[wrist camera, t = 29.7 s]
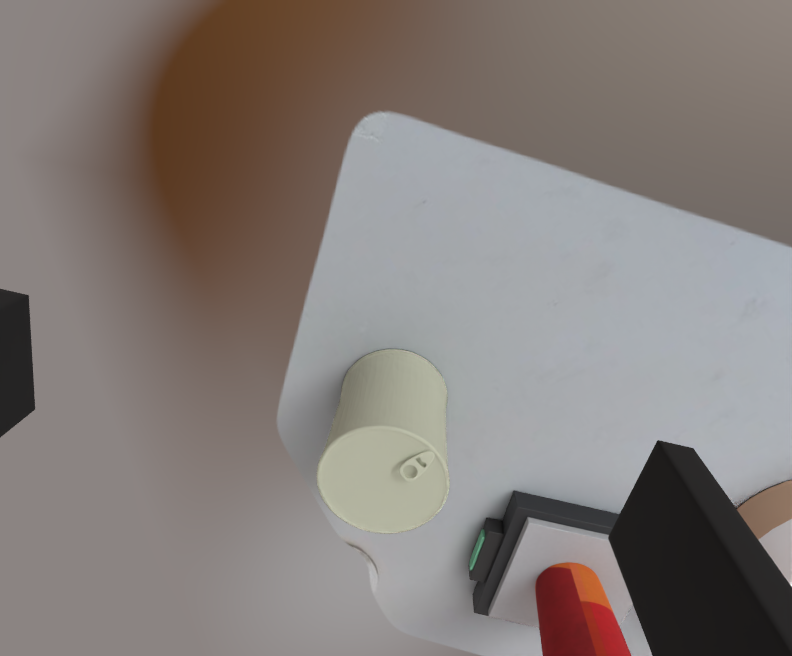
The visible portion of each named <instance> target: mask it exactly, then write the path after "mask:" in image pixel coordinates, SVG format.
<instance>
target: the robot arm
mask: <svg viewBox="0 0 792 656" xmlns="http://www.w3.org/2000/svg"><path fill="white" fill-rule="evenodd" d="M34 410H35V399H34V382H33V364H32V347H31V330H30V314H29V296H28V295H25V294H20V293H16V292H11V291H7V290H3V289H0V437H1V436H2V435H4V434H5V433H6V432H7V431H9V430H10V429H11V428H12V427H14V426H15V425H16V424H17V423H19V422H20V421H21V420H22V419H23V418H25V417H26V416H27V415H29V414H30V413H31V412H32V411H34ZM608 540H609V542H610V545H611V547H612V550H613V553H614V555H615V558H616V561H617V563H618V566H619V568H620V571H621V574H622V576H623V579H624V582H625V584H626V587H627V589H628V592H629V595H630V597H631V600H632V602H633V605H634V608H635V610H636V613H637V616H638V618H639V621H640V623H641V626H642V629H643V631H644V634H645V637H646V639H647V642H648V644H649V647H650V650H651V652H652V655H653V656H792V587H791V585H790V584H789V582H788V581H787V580H786V578H785V577H784V575H783V574H782V573H781V571H780V570H779V568H778V567H777V566H776V564H775V563H774V561H773V560H772V558H771V557H770V556H769V554H768V553H767V551H766V550H765V549H764V547H763V546H762V544H761V543H760V542H759V540H758V539H757V537H756V536H755V535H754V533H753V532H752V530H751V529H750V528H749V526H748V525H747V523H746V522H745V521H744V519H743V518H742V516H741V515H740V513H739V512H738V511H737V509H736V508H735V506H734V505H733V504H732V502H731V501H730V499H729V498H728V497H727V495H726V494H725V492H724V491H723V490H722V488H721V487H720V485H719V484H718V483H717V481H716V480H715V478H714V477H713V476H712V474H711V473H710V471H709V470H708V468H707V467H706V466H705V464H704V463H703V461H702V460H701V459H700V457H699V456H698V454H697V453H696V452H695V450H694V449H693V448H690V447H685V446H681V445H677V444H672V443H668V442H663V441H659V440H658V441H657V443H656V445H655V447H654V448H653V450H652V452H651V454H650V456H649V458H648V460H647V462H646V464H645V466H644V468H643V470H642V472H641V474H640V476H639V478H638V480H637V482H636V484H635V486H634V488H633V490H632V491H631V493H630V495H629V497H628V499H627V501H626V503H625V505H624V507H623V509H622V511H621V513H620V515H619V517H618V519H617V521H616V523H615V525H614V527H613V529H612V531H611V532H610V534H609V536H608Z"/></svg>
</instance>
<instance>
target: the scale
mask: <svg viewBox="0 0 792 656" xmlns="http://www.w3.org/2000/svg"><path fill="white" fill-rule="evenodd" d="M619 515H620V514H615V513H611V512H606V511H602V510H598V509H593V508H589V507H584V506H580V505H575V504H571V503H567V502H562V501H558V500H553V499H549V498H544V497H540V496H536V495H531V494H527V493H522V492H518V491H514V492H513V495H512V497H511V500H510V502H509V505H508V507H507V510H506V512H505V515H504V517H503V520H502V521H499V520H495V519H490V518H486V521H485V524H484V526H483V529H482V530H481V533H480V535H479V538H478V540H477V543H476V546H475V548H474V551H473V553H472V556H471V559H470V561H469V577H470V580H474V581H478V583H477V585H476V588H475V590H474V593H473V605H474V613H478V614H482V615H487V616H489V617H492V618H496V619H501V620H505V621H510V622H515V623H519V624H524V625H528V626H533V627H538V628H539V620H538V612H537V603H536V593H535V584H536V580H537V578H538V576H539V575H540V574H541V573H542V572H543V571H544V570H545V569H547V568H548V567H550V566H553V565H555V564H559V563H566V562H572V563H579V564H582V565H585V566H587V567H589V568H590V569H592V570H593V571H594V572H595V573H596V575H597V576H598V578H599V580H600V582H601V584H602V587H603V589H604V591H605V593H606V596H607V598H608V600H609V603H610V605H611V608H612V610H613V612H614V615H615V617H616V620H617V622H618V624H619V627H620V626H621V624H622V622H623V620H624V619H625V617H626V615H627V614H628V612H629V610H630V608H631V607H632V605H633V602H632V600H631V597H630V595H629V592H628V589H627V587H626V584H625V582H624V579H623V576H622V574H621V571H620V568H619V566H618V563H617V561H616V558H615V555H614V553H613V550H612V547H611V545H610V542H609V540H608V536H609V534H610V532H611V531H612V529H613V527H614V525H615V523H616V521H617V519H618V517H619Z"/></svg>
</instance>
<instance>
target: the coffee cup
mask: <svg viewBox="0 0 792 656" xmlns="http://www.w3.org/2000/svg"><path fill="white" fill-rule="evenodd" d="M535 593H536V603H537V612H538V620H539V628H540V636H541V644H542V652H543V656H631V654H630V651H629V649H628V646H627V644H626V642H625V639H624V637H623V634H622V632H621V629H620V627H619V624H618V622H617V620H616V617H615V615H614V612H613V610H612V608H611V605H610V603H609V600H608V598H607V596H606V593H605V591H604V589H603V587H602V584H601V582H600V580H599V578H598V576H597V575H596V573H595V572H594V571H593V570H592V569H590V568H589V567H587V566H585V565H582V564H579V563H572V562H566V563H559V564H555V565H553V566H550V567H548V568H547V569H545V570H544V571H543V572H542V573H541V574H540V575H539V576H538V578H537V580H536V584H535Z"/></svg>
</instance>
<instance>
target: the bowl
mask: <svg viewBox="0 0 792 656" xmlns="http://www.w3.org/2000/svg"><path fill="white" fill-rule="evenodd" d="M737 511H738V512H739V513H740V515H741V516H742V518H743V519H744V521H745V522H746V523H747V525H748V526H749V528H750V529H751V530H752V532H753V533H754V535H755V536H756V537H757V539H758V540H759V542H760V543H761V544H762V546H763V547H764V549H765V550H766V551H767V553H768V554H769V556H770V557H771V558H772V560H773V561H774V563H775V564H776V566H777V567H778V568H779V570H780V571H781V573H782V574H783V575H784V577H785V578H786V580H787V581H788V582H789V584H790V585H791V587H792V480H790V481H786V482H784V483H781V484H778V485H776V486H773V487H771V488H768V489H766V490H764V491H763V492H761V493H759V494H757V495H755V496H754V497H752V498H750V499H749V500H747V501H746V502H745V503H744V504H742V505H741V506H740V507H739V508H737Z"/></svg>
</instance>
